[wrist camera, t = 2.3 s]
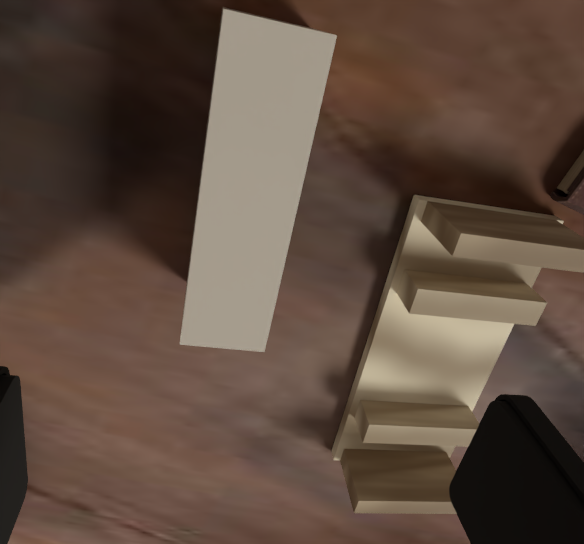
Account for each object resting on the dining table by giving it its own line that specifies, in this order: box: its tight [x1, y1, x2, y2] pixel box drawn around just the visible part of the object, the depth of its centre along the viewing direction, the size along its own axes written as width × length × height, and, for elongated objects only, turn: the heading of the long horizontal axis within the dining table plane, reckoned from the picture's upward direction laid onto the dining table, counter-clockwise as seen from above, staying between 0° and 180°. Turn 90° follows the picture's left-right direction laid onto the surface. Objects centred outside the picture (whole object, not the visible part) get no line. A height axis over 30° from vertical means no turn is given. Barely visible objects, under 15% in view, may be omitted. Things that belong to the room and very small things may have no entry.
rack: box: [331, 195, 584, 514], centre depth 30 cm, size 20×9×5 cm, turn 169°
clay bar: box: [180, 7, 337, 352], centre depth 23 cm, size 14×4×6 cm, turn 168°
